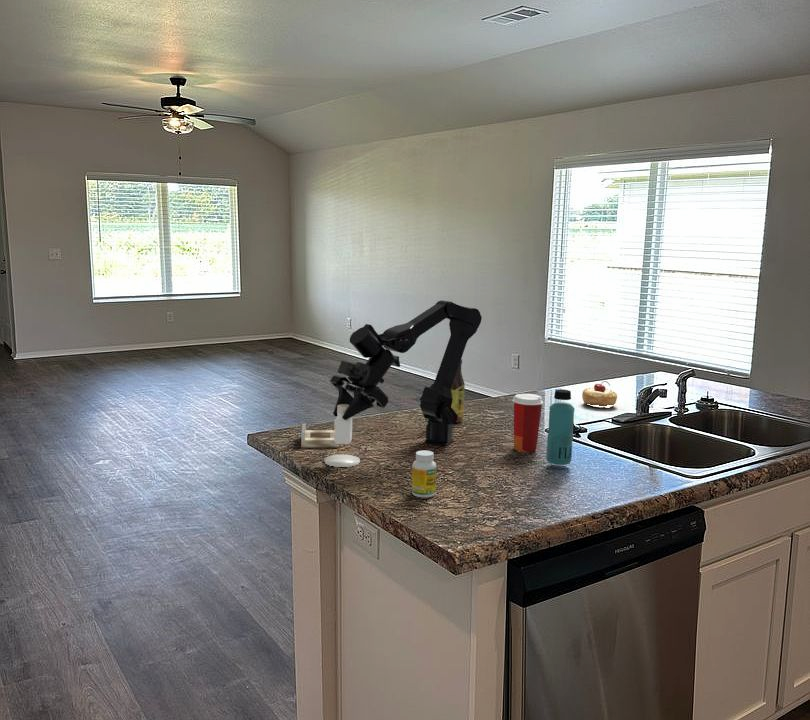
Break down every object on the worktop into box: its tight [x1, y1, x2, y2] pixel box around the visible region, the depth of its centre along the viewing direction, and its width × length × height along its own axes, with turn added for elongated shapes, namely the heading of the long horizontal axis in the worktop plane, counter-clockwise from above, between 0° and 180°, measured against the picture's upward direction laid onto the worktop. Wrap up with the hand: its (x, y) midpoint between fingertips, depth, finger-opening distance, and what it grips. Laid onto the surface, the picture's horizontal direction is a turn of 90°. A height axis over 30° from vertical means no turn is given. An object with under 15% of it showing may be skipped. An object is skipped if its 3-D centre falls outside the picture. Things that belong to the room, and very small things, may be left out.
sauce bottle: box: [451, 358, 466, 424], centre depth 228 cm, size 6×6×20 cm
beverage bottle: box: [545, 388, 575, 466], centre depth 185 cm, size 6×7×20 cm
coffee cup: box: [511, 393, 544, 453], centre depth 200 cm, size 8×8×15 cm
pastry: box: [581, 380, 618, 406], centre depth 257 cm, size 12×12×9 cm
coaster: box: [323, 453, 361, 468], centre depth 185 cm, size 9×9×1 cm
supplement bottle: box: [411, 450, 437, 499], centre depth 164 cm, size 5×5×10 cm
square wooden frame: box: [300, 423, 340, 448], centre depth 202 cm, size 10×10×4 cm
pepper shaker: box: [333, 404, 353, 445], centre depth 184 cm, size 4×4×10 cm
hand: (338, 417), depth 182 cm, fingers closed on pepper shaker, 4 cm apart
